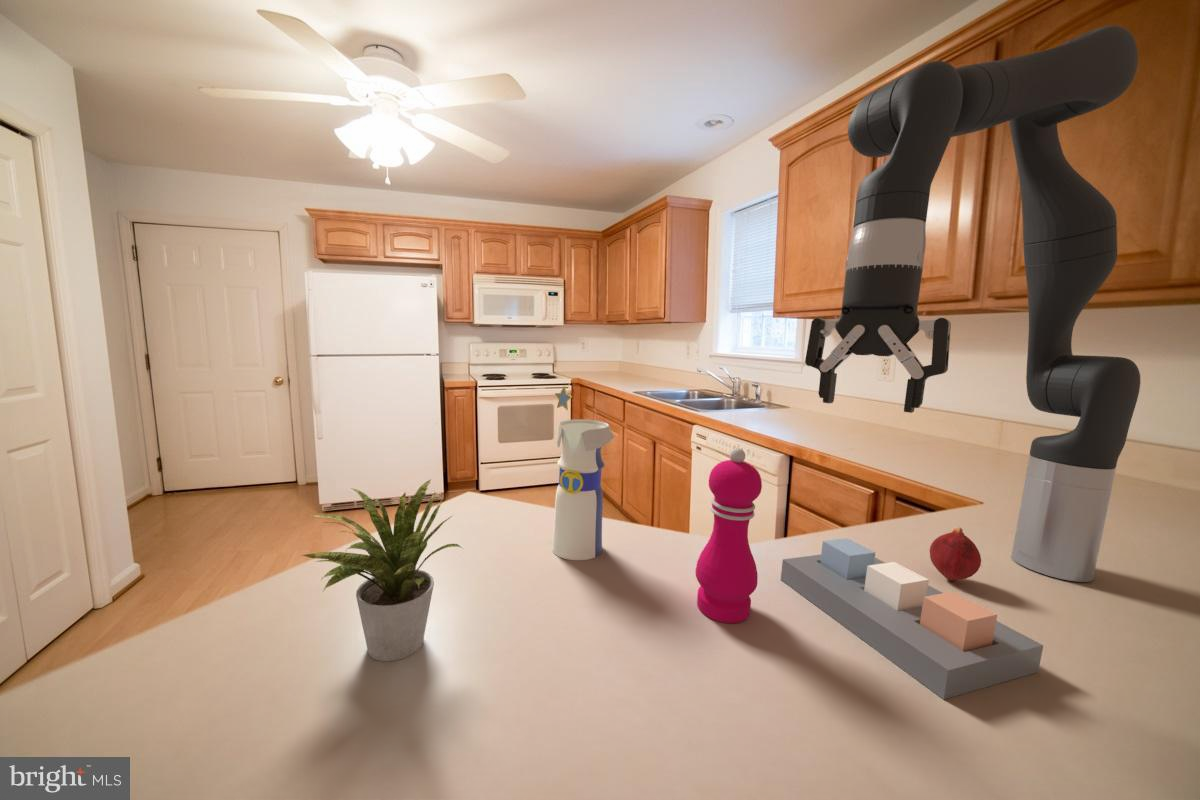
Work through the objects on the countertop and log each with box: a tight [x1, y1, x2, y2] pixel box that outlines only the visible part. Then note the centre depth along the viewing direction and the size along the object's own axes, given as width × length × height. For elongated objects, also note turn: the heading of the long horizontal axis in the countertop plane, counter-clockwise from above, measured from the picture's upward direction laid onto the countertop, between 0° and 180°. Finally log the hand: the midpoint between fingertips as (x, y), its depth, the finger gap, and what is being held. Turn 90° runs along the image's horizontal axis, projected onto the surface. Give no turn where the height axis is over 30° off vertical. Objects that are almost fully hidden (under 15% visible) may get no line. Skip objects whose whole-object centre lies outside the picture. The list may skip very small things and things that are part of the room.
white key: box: [864, 561, 929, 611], centre depth 55 cm, size 4×4×4 cm
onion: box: [929, 526, 982, 582], centre depth 65 cm, size 6×6×8 cm
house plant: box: [301, 479, 464, 662], centre depth 46 cm, size 14×14×16 cm
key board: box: [780, 554, 1044, 700], centre depth 55 cm, size 14×22×3 cm, turn 19°
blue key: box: [820, 537, 876, 580], centre depth 61 cm, size 4×4×4 cm
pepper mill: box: [695, 447, 763, 624], centre depth 54 cm, size 7×7×20 cm
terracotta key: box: [920, 591, 998, 652], centre depth 48 cm, size 4×4×4 cm
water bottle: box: [551, 385, 615, 561], centre depth 67 cm, size 8×9×25 cm
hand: (866, 407), depth 54 cm, fingers open, 8 cm apart
